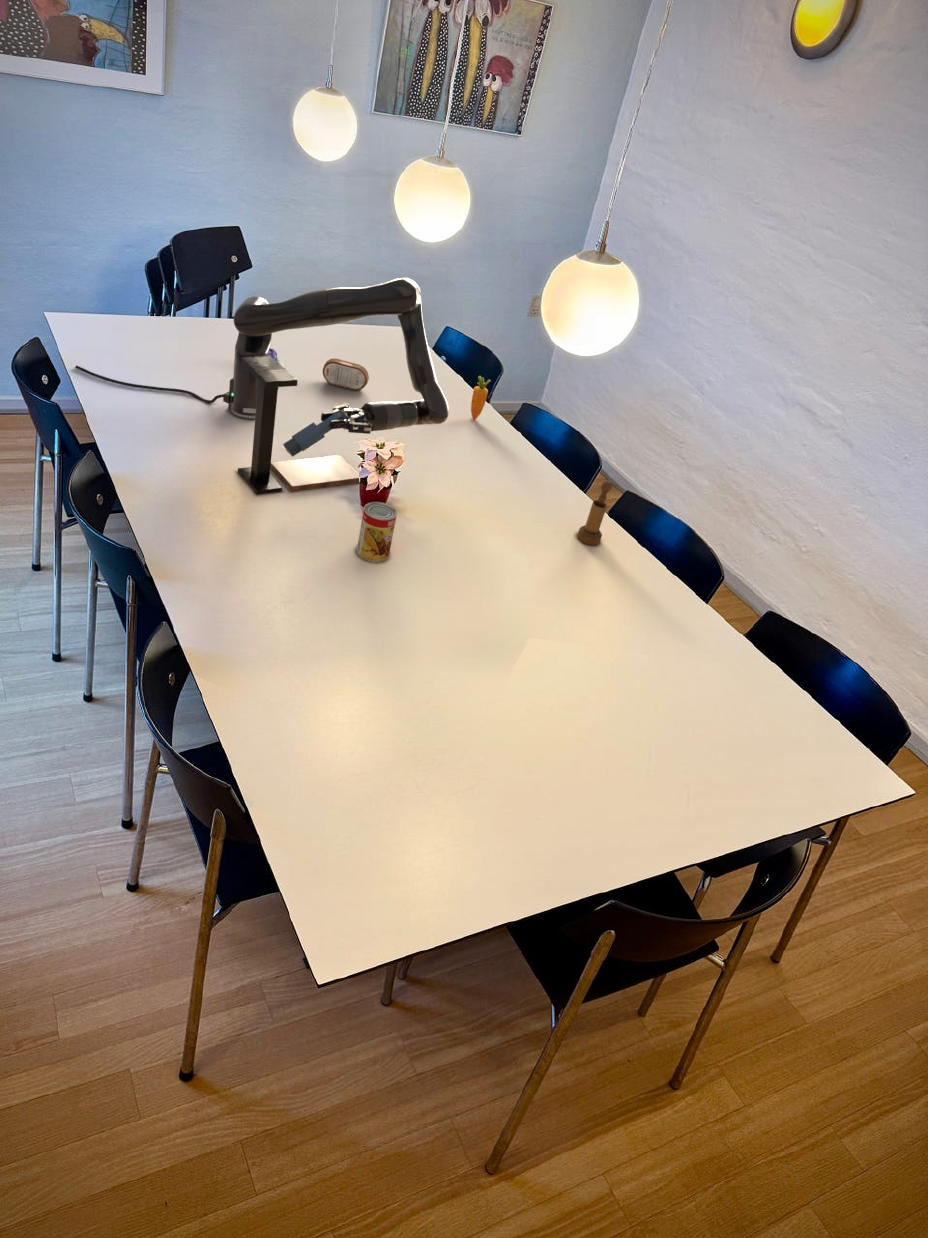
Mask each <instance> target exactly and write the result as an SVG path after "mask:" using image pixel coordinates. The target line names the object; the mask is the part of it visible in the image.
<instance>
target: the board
mask: <svg viewBox="0 0 928 1238" xmlns="http://www.w3.org/2000/svg"><path fill="white" fill-rule="evenodd" d="M270 470H272V472H274V473H275V475H276V476H277V477H278V478H279V479H280V480H281V482H283V484H284V485H285V486H286V487H287V488H288V489H289V491H290V492H298V491H307V490H315V489H323V488H331V487H337V486H345V485H354V484H360V483H359V475H360V473H358V471H356V470H355V468H353V466H351V465H350V464H349V462H347V461H346V460H345V459H344V458H343V456H341V455H340V454H337V455H336V454H335V455H327V456H319V457H308V458H298V459H289V460H281V461H271V467H270Z"/></svg>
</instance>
